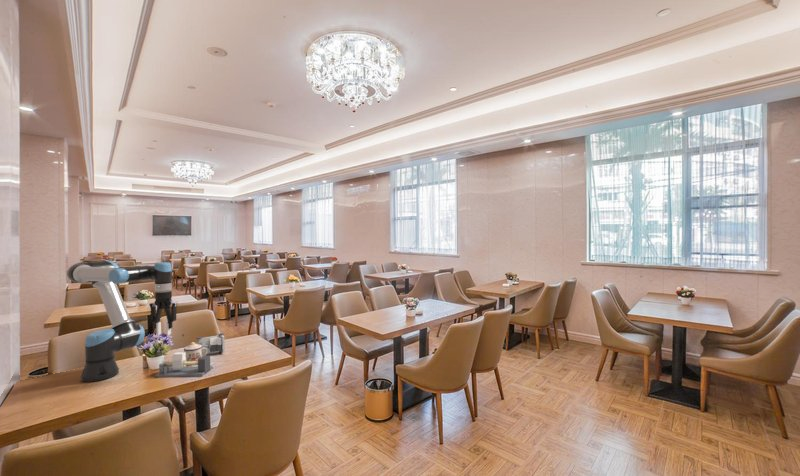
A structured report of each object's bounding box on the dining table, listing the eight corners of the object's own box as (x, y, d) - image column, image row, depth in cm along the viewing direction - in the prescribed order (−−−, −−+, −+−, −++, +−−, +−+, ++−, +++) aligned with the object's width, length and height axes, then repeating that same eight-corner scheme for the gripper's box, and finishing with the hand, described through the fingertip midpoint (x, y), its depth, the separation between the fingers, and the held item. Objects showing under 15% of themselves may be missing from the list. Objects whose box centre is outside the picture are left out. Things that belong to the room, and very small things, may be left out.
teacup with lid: (185, 366, 198) (185, 346, 197) (182, 362, 204) (181, 342, 204) (209, 361, 206) (209, 341, 206) (205, 357, 213) (204, 338, 212)
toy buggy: (193, 361, 206) (193, 341, 206) (191, 357, 213) (191, 338, 213) (227, 354, 217) (227, 336, 217) (223, 350, 225) (223, 332, 225)
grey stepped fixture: (155, 377, 183) (155, 361, 183) (168, 369, 194) (168, 354, 194) (202, 376, 184) (202, 361, 184) (212, 368, 195) (212, 354, 195)
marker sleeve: (172, 368, 187) (172, 354, 187) (176, 365, 191) (176, 352, 191) (181, 368, 187) (181, 354, 187) (186, 365, 191) (186, 351, 191)
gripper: (141, 292, 184) (142, 336, 185) (175, 292, 185) (176, 336, 185) (151, 290, 192) (151, 332, 192) (184, 289, 192) (184, 332, 193)
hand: (163, 334), depth 189 cm, fingers open, 4 cm apart
